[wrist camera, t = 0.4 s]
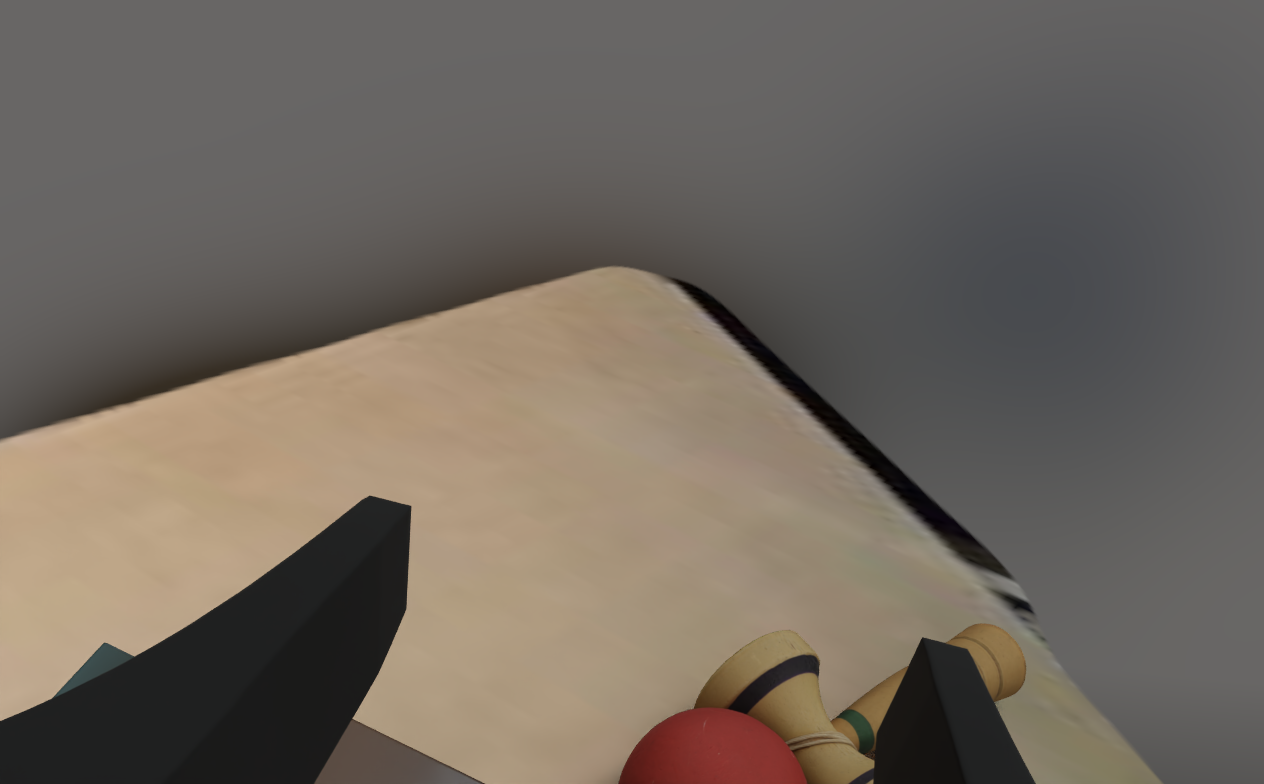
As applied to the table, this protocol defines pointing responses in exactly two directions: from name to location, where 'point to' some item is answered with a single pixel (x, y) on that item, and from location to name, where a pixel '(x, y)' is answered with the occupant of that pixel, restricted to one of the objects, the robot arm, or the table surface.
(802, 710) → the kendama
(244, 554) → the table surface
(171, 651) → the robot arm
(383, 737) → the cabinet
